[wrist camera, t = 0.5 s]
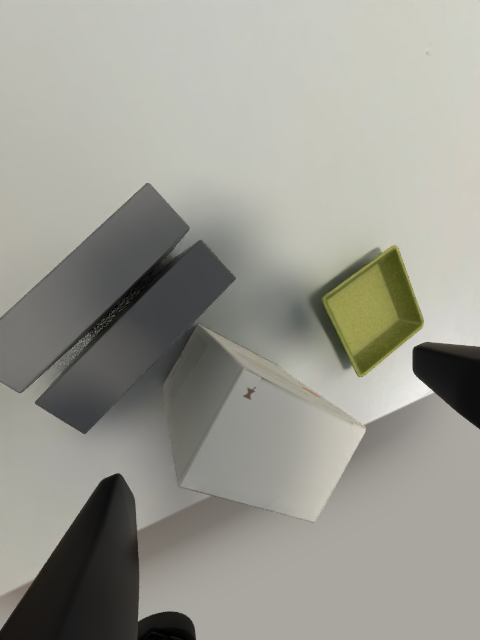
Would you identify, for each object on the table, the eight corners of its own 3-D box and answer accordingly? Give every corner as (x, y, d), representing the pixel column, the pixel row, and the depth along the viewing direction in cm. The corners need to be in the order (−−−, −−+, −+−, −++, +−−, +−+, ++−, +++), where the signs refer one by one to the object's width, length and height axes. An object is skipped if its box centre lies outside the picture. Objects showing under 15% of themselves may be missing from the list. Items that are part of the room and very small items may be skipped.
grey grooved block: (117, 356, 19) (84, 435, 10) (61, 313, 17) (-43, 356, 8) (195, 277, 20) (236, 278, 10) (149, 229, 18) (148, 180, 9)
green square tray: (378, 245, 25) (397, 242, 23) (406, 321, 27) (426, 325, 25) (306, 296, 23) (320, 298, 21) (344, 372, 26) (359, 379, 24)
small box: (160, 385, 20) (170, 489, 10) (197, 321, 20) (241, 364, 10) (245, 420, 23) (316, 529, 13) (277, 364, 23) (371, 430, 13)
